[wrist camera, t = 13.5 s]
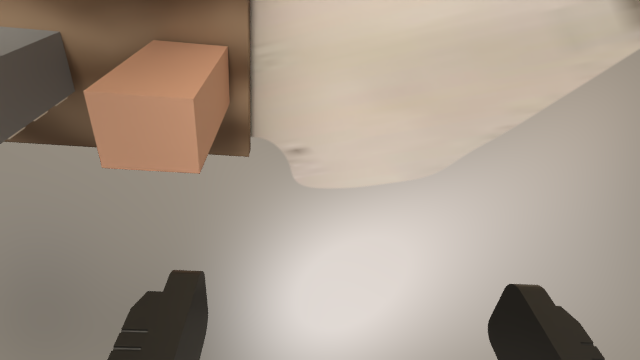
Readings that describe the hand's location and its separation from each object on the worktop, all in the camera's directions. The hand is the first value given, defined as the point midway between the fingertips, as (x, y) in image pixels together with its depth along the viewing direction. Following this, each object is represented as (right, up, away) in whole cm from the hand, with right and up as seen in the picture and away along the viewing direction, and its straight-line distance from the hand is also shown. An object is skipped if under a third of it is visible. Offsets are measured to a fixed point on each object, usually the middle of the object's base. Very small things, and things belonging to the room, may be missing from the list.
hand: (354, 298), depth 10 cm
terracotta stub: (-12, +12, +23) cm, 29 cm away
